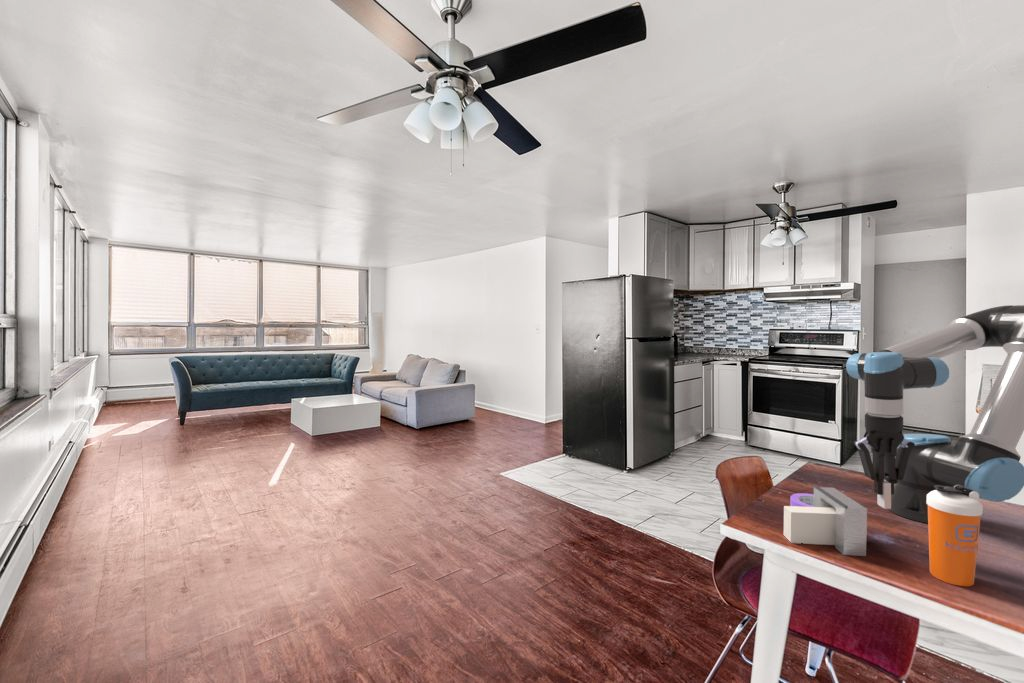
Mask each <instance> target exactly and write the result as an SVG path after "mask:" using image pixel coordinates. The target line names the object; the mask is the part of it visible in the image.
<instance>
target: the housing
mask: <svg viewBox="0 0 1024 683" xmlns="http://www.w3.org/2000/svg"><path fill="white" fill-rule="evenodd" d="M812 487H813V494H814V503H813V507H828V508H836V536H835V545H834V546H835V547H834V548H835V549H836V550H837V551H838V552H839V553H841V554H842V555H843V556H854V557H855V556H856V557H857V556H860V557H866V556H867V535H868V532H867V529H868V508H867V507H865V506H863V505H861V504H860V503H858V502H857V501H855V500H854V499H853V498H851V497H849V496H847V495H846V494H844V493H843V492H841V491H840V490H838V489H836V488H835V487H825V486H824V487H821V486H818V485H817V484H813V486H812Z"/></svg>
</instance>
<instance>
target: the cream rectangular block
mask: <svg viewBox="0 0 1024 683" xmlns="http://www.w3.org/2000/svg"><path fill="white" fill-rule="evenodd" d="M783 535H784V536H785V537H786V538H787V539H788V540H789V541H790V542H791V543H790V542H789V541H788V540H787V539H786V538H785V537H784V536H783V537H784V538H785V539H786V540H787V541H788V542H789V543H790V544H801V543H803V545H804V544H806V545H807V544H808V545H825V546H835V536H836V508H828V507H801V506H790V505H783Z"/></svg>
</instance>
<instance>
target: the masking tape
mask: <svg viewBox="0 0 1024 683" xmlns="http://www.w3.org/2000/svg"><path fill="white" fill-rule="evenodd" d="M789 499H790V505H789V506H801V507H813V503H814V493H806V492H805V493H802V492H801V493H800V492H798V493H794V494H792V495H790V498H789Z"/></svg>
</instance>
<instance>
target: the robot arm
mask: <svg viewBox="0 0 1024 683" xmlns="http://www.w3.org/2000/svg"><path fill="white" fill-rule="evenodd" d="M990 347H991V348H993V347H994V348H996V347H997V348H999V347H1000V348H1002V349H1003V350H1004V351H1005V353H1006V357H1005V359H1004V361H1003V363H1002V365H1001V367H1000V370H999V372H998V374H997V376H996V378H995V380H994V383H993V384H992V387H991V388H990V390H989V393H988V395H987V397H986V400H985V401H984V403H983V405H982V407H981V409H980V412H979V414H978V416H977V418H976V420H975V422H974V424H973V426H972V429H971V430H970V433H968V434H965V435H964V434H963V435H960V436H959V437H958V439H957V442H956V443H955V444H952V440H951V438H950V436H948V435H943V434H934V433H933V434H932V433H904V434H903V431H904V417H903V416H902V415H903V414H904V390H909V389H910V390H911V389H924V388H926V389H930V388H934V387H939V386H942V385H944V384H945V383H947V382H948V380H949V378H950V367H949V366H948V365H947V363H946V362H945V361H943V360H942V359H941V358H944V357H947V356H950V355H952V354H955V353H958V352H961V351H963V350H965V351H974V350H977V349H980V348H990ZM845 367H846V372H847V374H848V376H850V377H851V378H853V379H857V380H860V381H861V380H862V381H863V382H864V411H865V412H866V413H865V414H864V429H865V432H864V434H863V438H861V439H859V440H854V441H853V445H854V446H855V448H856V449H857V450H858V451H857V452H858V454H859V459H860V461H861V466H862V470H863V473H864V475H865V477H866V478H868V479H870V480H872V481H873V488H874V489H873V491H874V493H875V494H877V497H876V498H877V499H876V500H877V501H876V502H877V503H876V504H877V506H879V507H880V508H882V509H885V510H889V511H890V512H892V513H893V514H896V515H898V516H900V517H902V518H906V519H909V520H912V521H917V522H920V523H926V524H928V505H927V504H926V499H927V494H928V493H929V492H931V491H933V490H936V489H935V488H934V486H935V485H942V486H950V487H954V486H956V485H961V486H963V487H966V488H968V489H971V490H973V491H976V492H977V493H978V494H979V500H980V499H982V500H986V501H989V502H994V503H1000V502H1005V501H1006V500H1007V501H1009V500H1010V499H1013V498H1014V497H1016V496H1017V495H1018V494H1019V493H1020V492H1021V491H1022V490H1023V489H1024V464H1022V463H1021V462H1020V460H1021V457H1022V456H1021V455H1020V453H1019V451H1017V449H1016V448H1017V445H1018V444H1019V441H1020V439H1021V438H1022V435H1023V434H1024V304H1023V305H1021V304H1020V305H1001V306H996V307H995V306H994V307H990V308H985V309H982V310H979V311H976V312H975V311H974V312H973V313H970V314H967V315H964V316H962V317H958V318H955V319H953V320H951V321H950V322H949V323H948V325H947V326H944V327H942V328H939V329H936V330H933V331H930V332H927V333H924V334H922V335H919V336H916V337H914V338H911V339H908V340H905V341H903V342H900V343H897V344H894V345H891V346H889V347H887V348H883V349H879V350H877V351H872V352H868V353H865V352H860V353H854V354H852V355H850V356H849V357H848V359H847V360H846V365H845ZM869 447H870V448H871V449H870V450H871V453H870V450H869ZM871 454H872V457H871Z"/></svg>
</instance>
